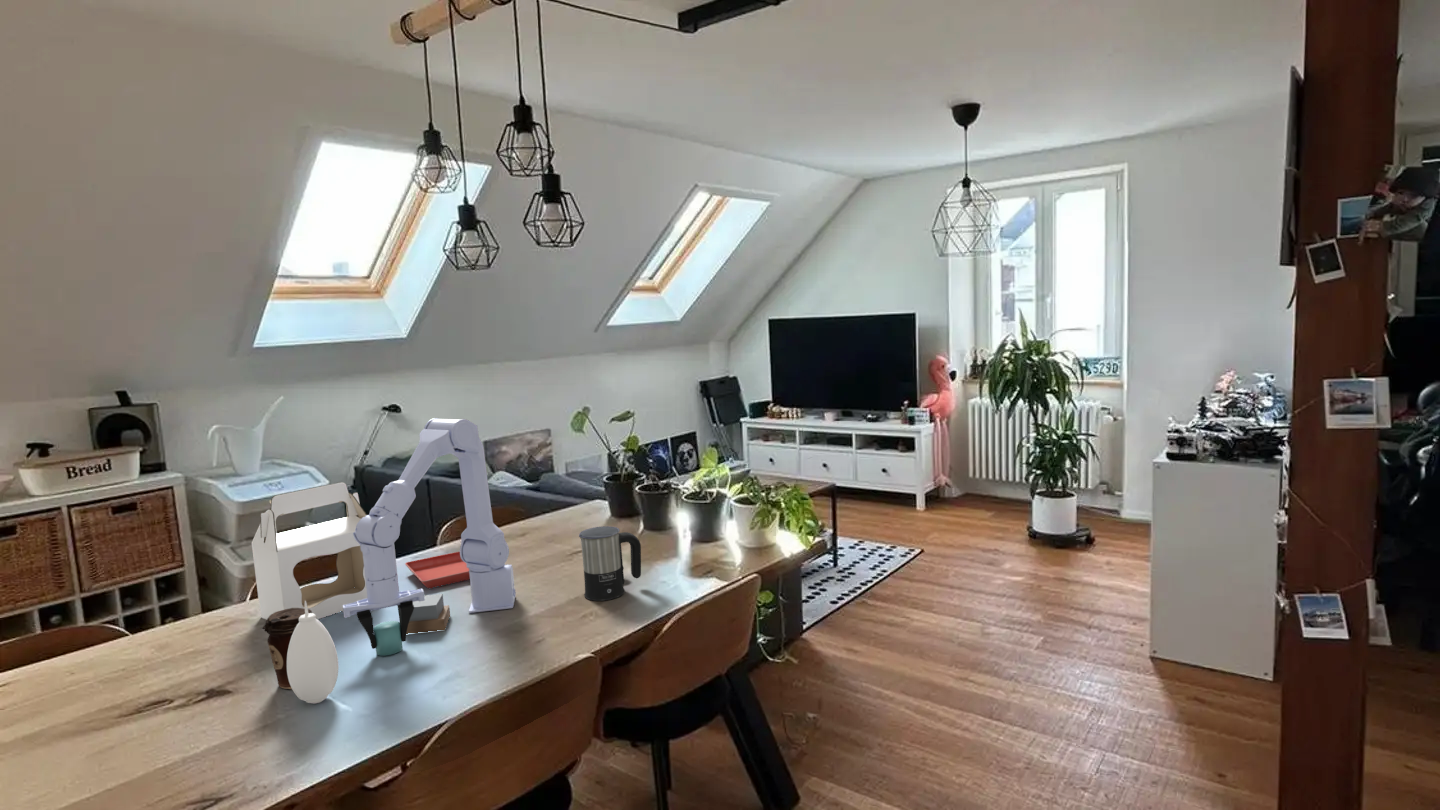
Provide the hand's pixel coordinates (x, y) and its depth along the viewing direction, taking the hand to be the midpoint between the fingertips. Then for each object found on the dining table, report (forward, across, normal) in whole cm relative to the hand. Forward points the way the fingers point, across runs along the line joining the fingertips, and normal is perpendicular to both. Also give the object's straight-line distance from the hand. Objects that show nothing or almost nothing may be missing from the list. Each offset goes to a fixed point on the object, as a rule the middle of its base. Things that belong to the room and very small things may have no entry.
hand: (388, 643), depth 155 cm
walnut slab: (+2, -9, -9) cm, 13 cm away
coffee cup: (+2, +16, +4) cm, 17 cm away
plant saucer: (+2, -20, -42) cm, 46 cm away
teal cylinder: (+1, 0, 0) cm, 1 cm away
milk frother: (+2, -48, -7) cm, 49 cm away
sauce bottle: (+2, +14, +14) cm, 20 cm away
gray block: (-1, -8, -10) cm, 13 cm away
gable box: (+2, +9, -36) cm, 37 cm away
